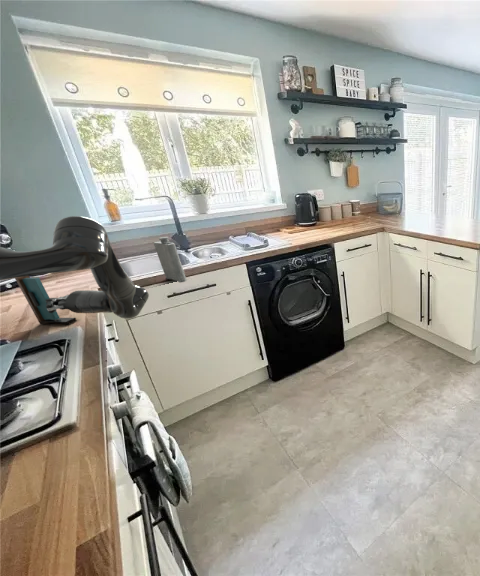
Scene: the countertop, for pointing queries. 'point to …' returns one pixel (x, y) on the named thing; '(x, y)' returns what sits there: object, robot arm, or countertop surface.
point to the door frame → (38, 315)
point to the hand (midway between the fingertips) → (49, 301)
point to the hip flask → (169, 260)
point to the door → (39, 297)
